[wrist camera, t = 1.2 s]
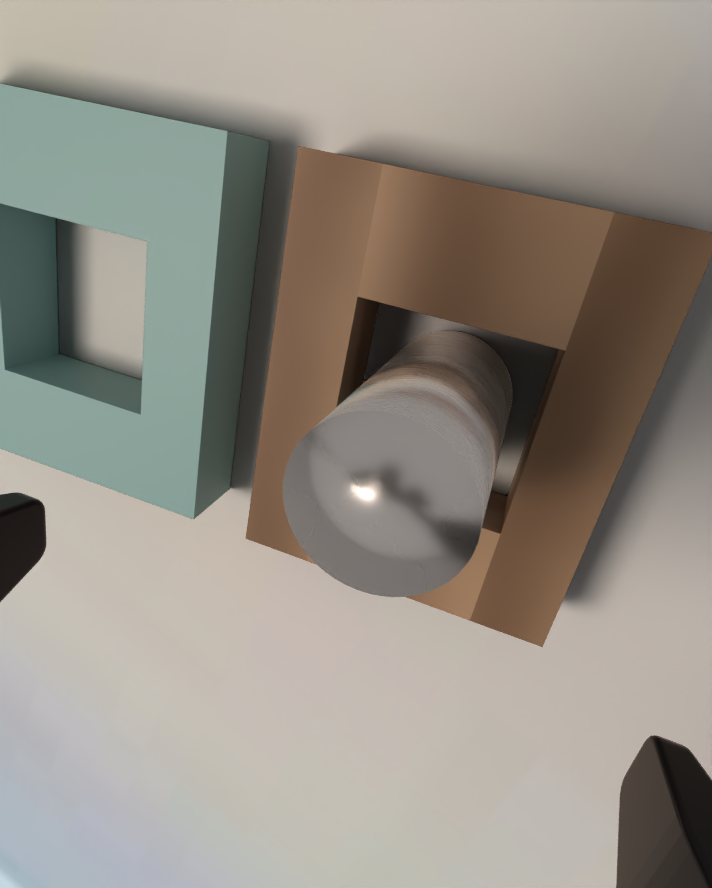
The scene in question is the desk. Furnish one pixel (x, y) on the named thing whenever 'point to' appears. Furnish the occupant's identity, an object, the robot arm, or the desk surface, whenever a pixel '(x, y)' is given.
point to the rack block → (166, 295)
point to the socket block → (490, 308)
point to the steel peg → (403, 468)
